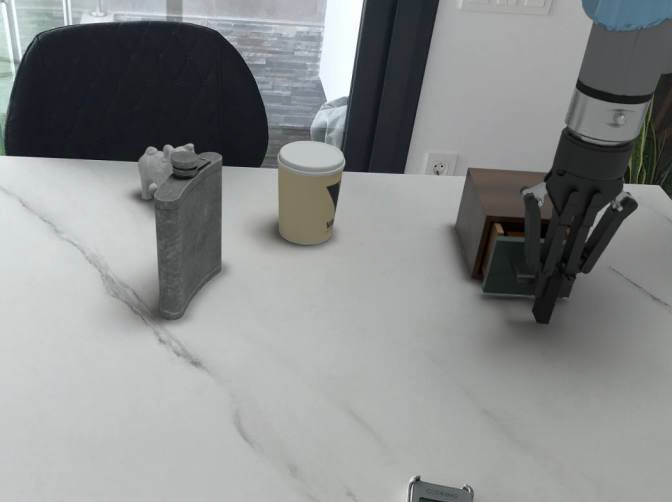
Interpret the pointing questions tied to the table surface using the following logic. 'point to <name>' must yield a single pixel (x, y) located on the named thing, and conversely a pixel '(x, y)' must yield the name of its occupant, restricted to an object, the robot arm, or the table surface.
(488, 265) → the drawer
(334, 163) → the coffee cup
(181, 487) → the table surface
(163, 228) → the flask
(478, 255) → the cabinet
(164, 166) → the dog figurine
